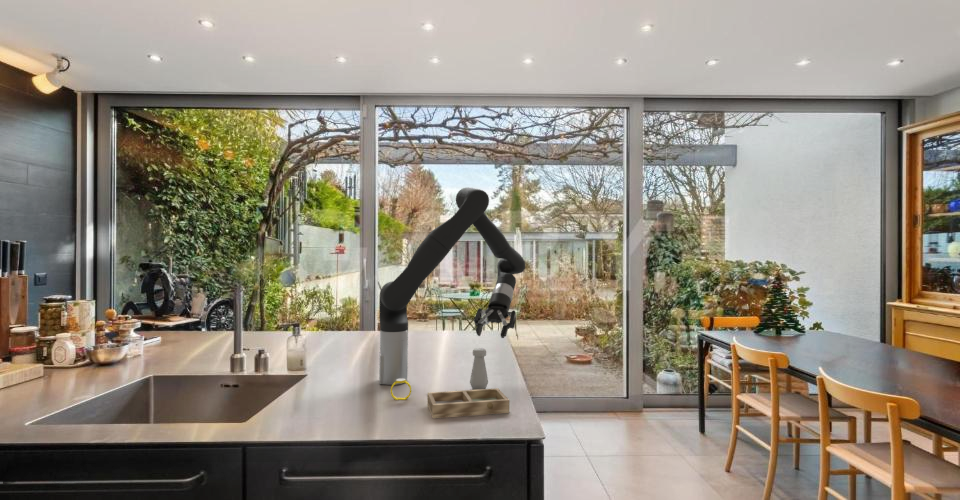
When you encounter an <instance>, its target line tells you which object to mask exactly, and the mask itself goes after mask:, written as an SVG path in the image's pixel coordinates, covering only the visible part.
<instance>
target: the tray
mask: <svg viewBox="0 0 960 500" xmlns="http://www.w3.org/2000/svg"><path fill="white" fill-rule="evenodd" d="M426 402H427V404H426V405H427V408H428V410H429V412H430V415H431V418H432V419H442V418H443V419H444V418H457V417H458V418H461V417H470V416H471V417H472V416H486V415H499V414H509V413H510V399H509V397H507V395H505V394H504V392H502V390H501V389H499V388H498V387H497V388H496V387H495V388H486V389H479V390H473V389H468V390H467V389H465V390H450V391H448V390H447V391H446V390H445V391H433V392H432V391H431V392H430V391H429V392H427V401H426Z"/></svg>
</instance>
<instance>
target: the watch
mask: <svg viewBox="0 0 960 500" xmlns="http://www.w3.org/2000/svg"><path fill="white" fill-rule="evenodd" d="M396 383H403V384H406V385H407V386H408V388H409V393H408V395H407V396H405V397H397V396H395V395H394V393H393V388H394V386H395V384H396ZM390 386H391V387H390V395H391V397H392V398H393V399H394V400H395V401H407V400H408V399H409V398H410V396H411V393H412V385H411V384H410V383H409V381H408V380H407V381H406V379H404V378H400V379H397V380H396V382H394V383H393V385H390Z"/></svg>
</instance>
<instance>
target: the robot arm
mask: <svg viewBox="0 0 960 500" xmlns="http://www.w3.org/2000/svg"><path fill="white" fill-rule="evenodd" d="M455 203H456V207H457V208H458V210H457V211H456V212H455V213H454V215H453V216H451V217H450V218H449V219H447V220H446V221H444V222H443V223H441V224H440V225H438V226H436V227H435V228H434V229H433V230H431V231H430V232H429V233H428V235H426V237H425V238H424V239H423V240H422V241H421V242H420V244H419V245H418V247H417V248H416V250H415V252H414V253H413V255H412V257H411V259H410V260H409V263H408V264H407V265H406V267H405V268H404V270H402V272H401V273H400V274H399V275H398V276H397V277H396V278H395V279H394V280H392V281H388V282H386V283H385V284H384V285H383V286H381V288H380V291H379V303H378V304H379V309H378V311H379V358H378V359H379V361H378V362H379V363H378V365H379V367H378V374H379V376H378V379H379V385H388V386H392V385H393V383H394V382H396V380H397V379H400V378H404V379H406V381H407V382H408V376H409V375H408V374H409V373H408V368H409V366H408V365H409V363H408V362H409V360H408V359H409V320H408V313H407V312H408V304H409V303H410V302H411V299H412V298H413V297H414V295H416V292H418V291H417V290H418V289H419V288H420V286H421V285H422V284H423V282H424V281H425V280H426V279H427V278H428V277H429V276H430V274H432V272H433V271H434V270H436V269H437V267H438V266H439V265H440V264H441V262H442V261H443V260H444V259H445V258H446V257H447V255H448V254H449V253H450V252H451V250H452V249H453V247H454V246H455V245H456V244H457V243H458V242H459V240H460V239H461V238H462V237H463V235H464V234H465V232H467V230H469V228H470V227H471V226H472V225H473V226H474V227H475V229H476V231H478V233H479V234H480V236H481V237H482V239H483V240H484V242H485V243H486V244H487V246H488V248H489V250H490V251H491V253H492V254H493V256H494V257H495V258H497V259H499V260H498V262H497V279H496V282H495V286H494V288H493V290H492V293H491V296H490V299H489V303H488V305H487V308H486V309H482V308H481V307H480V308H478V309H477V311H476V314H475V316H474V319H473V323H474V325H475V326H476V329H475V333H476V335H477V337H481V335H482V332H483V329H484V328H483V327H485V326H486V325H489V324H490V323H493V324H494V323H496V324H500V323H501V324H502V328H501V330H500V338H501V339H504V338H505V337H506V336H507V334H508V330H509V329H515V326H516V320H517V313H516V311H515V310H512V311H510V309H511V308H510V307H511V304H512V301H513V298H514V297H513V296H514V292H515V291H514V290H515V288H516V284H517V278H516V276H515V275H517V274H521V273H523V272H524V271H525V269H526V262H525V259H524V258H523V256H522V255H521V254H520V253H519V252H518V251H517V250H516V249H515V248H513V247H512V246H511V244H510V243H509V242H508V240H507V238H506V237H505V235H504V233H503V232H502V231H501V230H500V229H499V228H498V226H497V225H496V224H495V223H494V222H493V221H492V220H491V219H490V218H489V217H488V215H487V214H486V211H487V210H488V207H489V203H490V197H489V194H488V192H486V191H485V190H483V189H481V188H474V187H463V188H461V189H459V191H457V193H456V196H455ZM508 317H509V322H507V320H506V319H507V318H508ZM403 384H404V383H396V384H395V385H403ZM395 385H394V386H395Z"/></svg>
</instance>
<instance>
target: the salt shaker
mask: <svg viewBox="0 0 960 500" xmlns="http://www.w3.org/2000/svg"><path fill="white" fill-rule="evenodd" d="M472 356H473V362H472V363H473V364H472V369H471V374H470V379H469V384H470V387H471V390H479V389H487V387H488V384H489V377H488V372H487V367H486V366H487V365H486V361H485V357H486V356H487V349H485V348H483V347H475V348H474V349H473V350H472Z"/></svg>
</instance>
